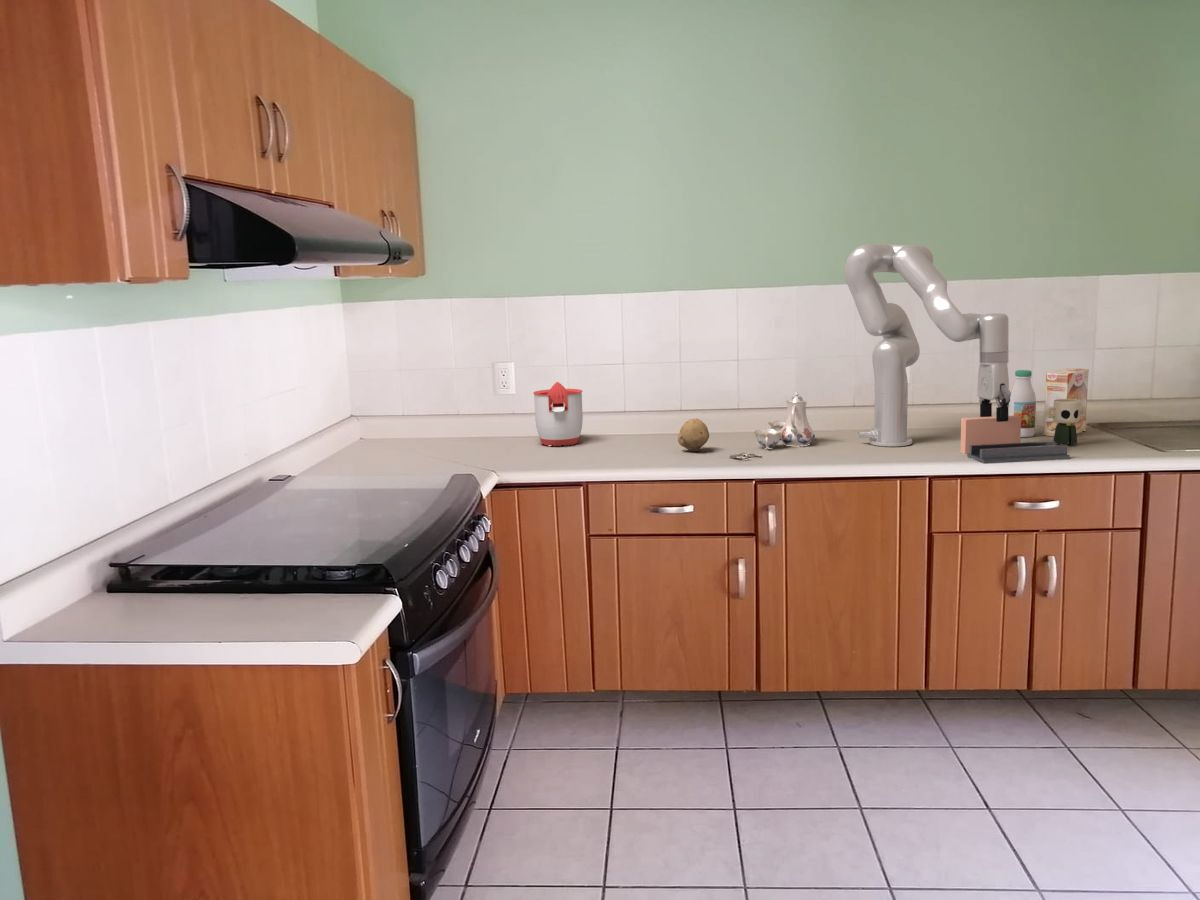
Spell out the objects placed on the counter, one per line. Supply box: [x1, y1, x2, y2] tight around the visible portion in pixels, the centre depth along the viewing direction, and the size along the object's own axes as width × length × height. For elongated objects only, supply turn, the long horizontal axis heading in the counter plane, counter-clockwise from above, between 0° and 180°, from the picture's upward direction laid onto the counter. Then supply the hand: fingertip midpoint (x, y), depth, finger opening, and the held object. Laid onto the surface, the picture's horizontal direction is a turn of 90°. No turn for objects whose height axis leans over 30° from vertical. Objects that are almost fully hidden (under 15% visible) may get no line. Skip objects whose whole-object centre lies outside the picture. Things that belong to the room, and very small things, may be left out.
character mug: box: [1048, 399, 1087, 445], centre depth 296 cm, size 11×7×13 cm, turn 91°
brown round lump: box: [677, 418, 710, 453], centre depth 306 cm, size 9×9×10 cm
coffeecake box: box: [1042, 367, 1090, 437], centre depth 314 cm, size 15×7×20 cm, turn 132°
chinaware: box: [753, 391, 816, 450], centre depth 313 cm, size 28×17×17 cm, turn 161°
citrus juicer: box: [532, 381, 584, 447], centre depth 326 cm, size 16×17×20 cm
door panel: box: [959, 415, 1021, 455], centre depth 289 cm, size 16×3×10 cm, turn 95°
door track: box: [966, 440, 1071, 464], centre depth 280 cm, size 24×10×4 cm, turn 95°
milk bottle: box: [1008, 369, 1037, 438], centre depth 313 cm, size 8×8×20 cm
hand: (994, 419), depth 288 cm, fingers open, 9 cm apart
